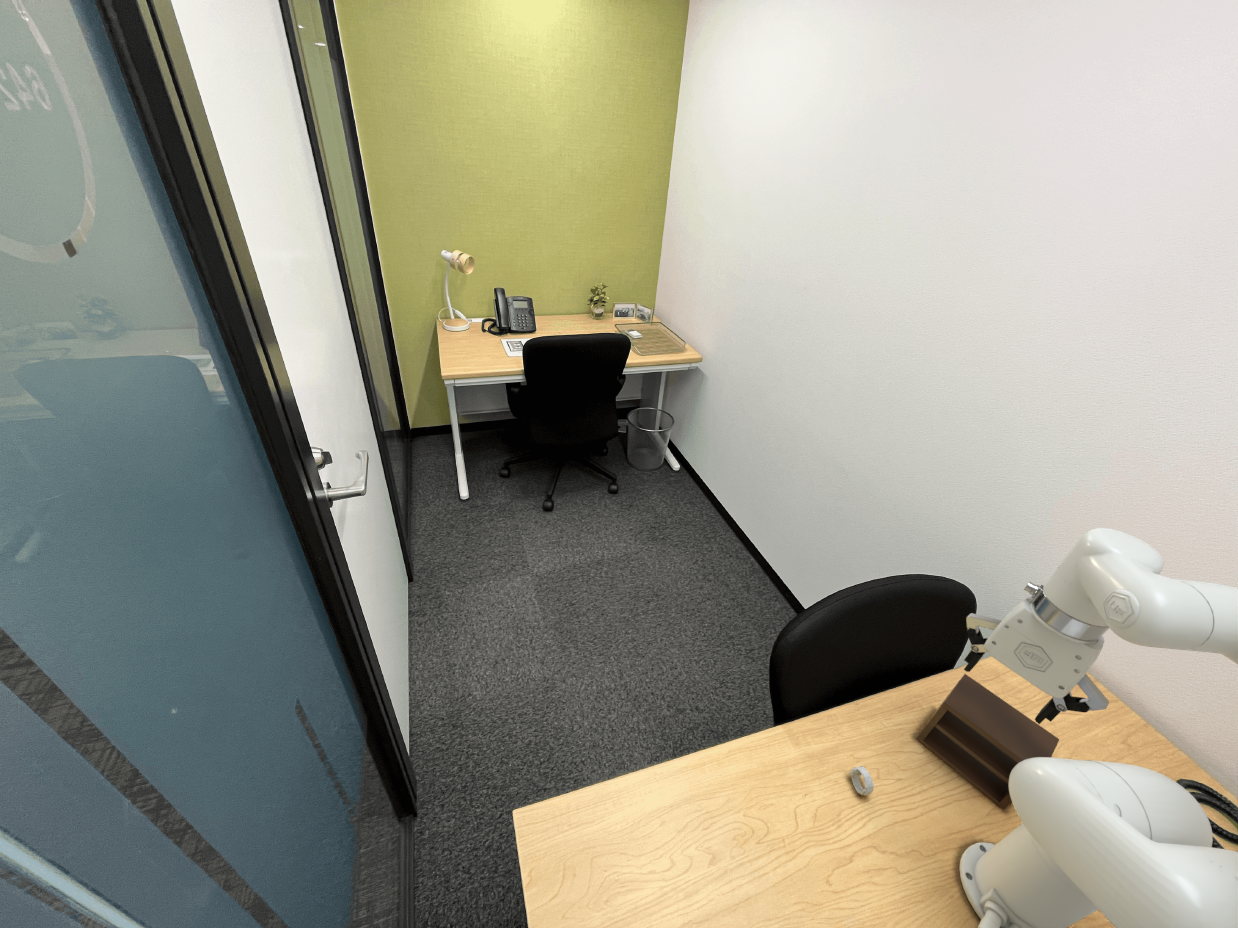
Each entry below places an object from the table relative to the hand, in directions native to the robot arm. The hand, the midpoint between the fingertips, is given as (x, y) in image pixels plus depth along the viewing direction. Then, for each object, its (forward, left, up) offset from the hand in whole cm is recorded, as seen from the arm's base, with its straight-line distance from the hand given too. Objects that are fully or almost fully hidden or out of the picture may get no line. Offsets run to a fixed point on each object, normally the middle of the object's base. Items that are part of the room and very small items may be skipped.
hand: (1003, 690), depth 74 cm
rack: (+5, -2, -21) cm, 22 cm away
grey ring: (-16, +7, -21) cm, 27 cm away
